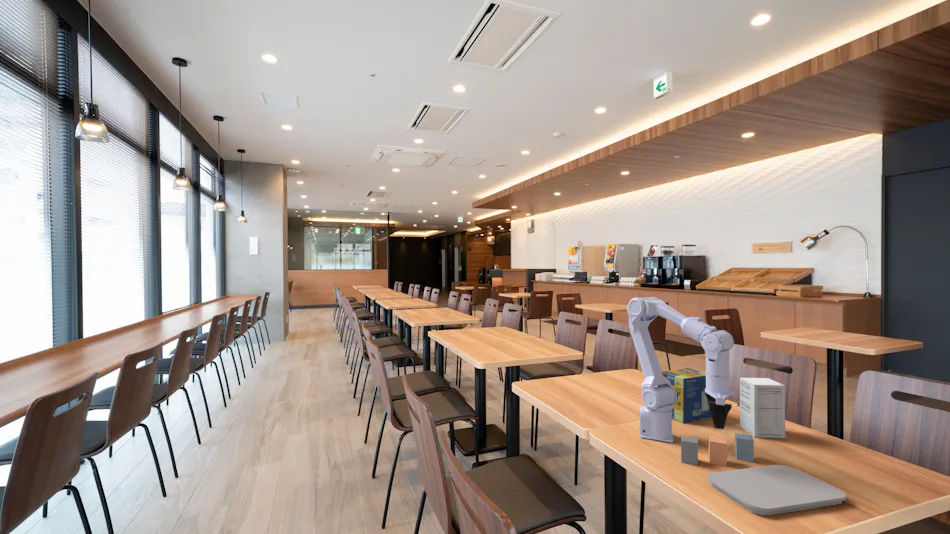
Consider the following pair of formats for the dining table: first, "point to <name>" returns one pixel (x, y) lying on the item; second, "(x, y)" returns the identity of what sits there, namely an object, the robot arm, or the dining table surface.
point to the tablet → (775, 489)
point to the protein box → (688, 394)
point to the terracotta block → (717, 451)
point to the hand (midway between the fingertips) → (717, 423)
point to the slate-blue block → (744, 447)
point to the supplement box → (762, 407)
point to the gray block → (689, 450)
